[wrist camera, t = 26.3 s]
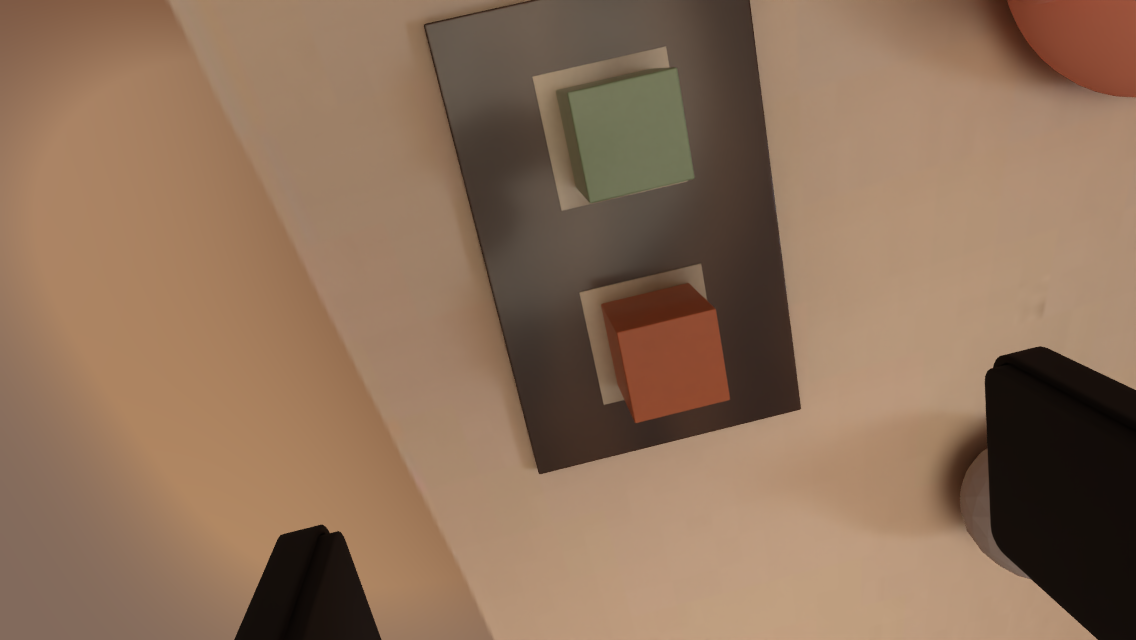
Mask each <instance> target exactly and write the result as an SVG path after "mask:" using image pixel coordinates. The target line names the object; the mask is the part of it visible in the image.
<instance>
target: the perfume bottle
mask: <svg viewBox="0 0 1136 640" xmlns="http://www.w3.org/2000/svg"><path fill="white" fill-rule="evenodd" d="M960 509H961V513H962V516H963V519H964V523H965V526H966V529H967V531H968V533H969V534H970V535H971V537H972V538H973V540H974V541H975V542H976V544H977V545H978V547H979V548H980V549H981V551H982V552H983V553H985V554H986V555H987V556H988V557H989V558H991V559H992V560H993V561H994V562H995V563H997V564H998V565H1000V566H1001V567H1003V568H1005V569H1006V570H1008V571H1010V572H1012V573H1014V574H1016V575H1018V576H1021V577H1025V578H1029V577H1028V576H1027V575H1026V574H1025V573H1024V572H1023V571H1022V570H1021V569H1019V568H1018V567H1017V566H1016V565H1015V564H1014V563H1013V562H1012V561H1011V560H1010V559H1008V558H1007V557H1006V556H1005V555H1004V554H1003V553H1002V552H1001V551H1000V549H999V548H998V546H997V545H996V543H995V540H994V538H993V535H992V532H991V525H990V499H989V474H988V448H987V449H985V450H984V451H982V452H981V453H980V454H979V455H978V457H977V458H976V459H975V460H974V462H973V463H972V464H971V466H970V467H969V468H968V469H967V471H966V474H965V477H964V480H963V483H962V486H961V490H960ZM1029 579H1030V578H1029Z"/></svg>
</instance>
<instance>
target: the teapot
mask: <svg viewBox="0 0 1136 640" xmlns="http://www.w3.org/2000/svg"><path fill="white" fill-rule="evenodd" d="M1007 1H1008V5H1009V7H1010V10H1011V12H1012V14H1013V17H1014V19H1015V21H1016V24H1017V26H1018V27H1019V29H1020V31H1021V32H1022V34H1023V36H1024V37H1025V39H1026V40H1027V42H1028V44H1029V45H1030V46H1031V47H1032V48H1033V49H1034V51H1035V52H1036V53H1037V54H1038V55H1039V57H1040V58H1041V59H1042V60H1044V61H1045V62H1046V63H1047V64H1048V65H1049V66H1051V67H1052V68H1053V69H1054V70H1055V71H1057V72H1058V73H1060V74H1061V75H1063V76H1065V77H1066V78H1068V79H1070V80H1071V81H1073V82H1075V83H1076V84H1078V85H1080V86H1083V87H1085V88H1088V89H1090V90H1093V91H1095V92H1099V93H1104V94H1108V95H1113V96H1122V97H1136V0H1007Z"/></svg>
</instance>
